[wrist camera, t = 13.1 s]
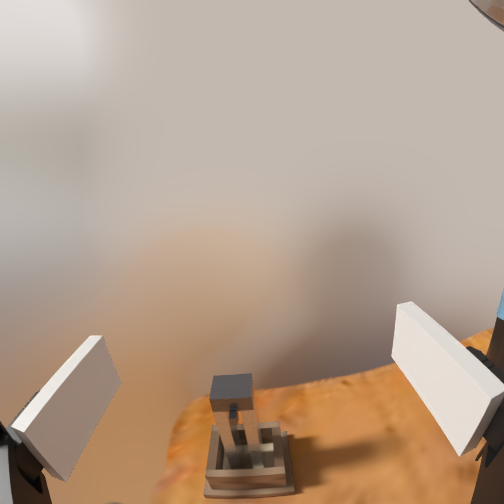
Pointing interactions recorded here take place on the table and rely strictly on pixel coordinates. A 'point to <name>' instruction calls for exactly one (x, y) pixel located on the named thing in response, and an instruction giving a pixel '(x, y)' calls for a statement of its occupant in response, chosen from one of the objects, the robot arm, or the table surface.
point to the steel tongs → (226, 415)
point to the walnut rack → (250, 467)
